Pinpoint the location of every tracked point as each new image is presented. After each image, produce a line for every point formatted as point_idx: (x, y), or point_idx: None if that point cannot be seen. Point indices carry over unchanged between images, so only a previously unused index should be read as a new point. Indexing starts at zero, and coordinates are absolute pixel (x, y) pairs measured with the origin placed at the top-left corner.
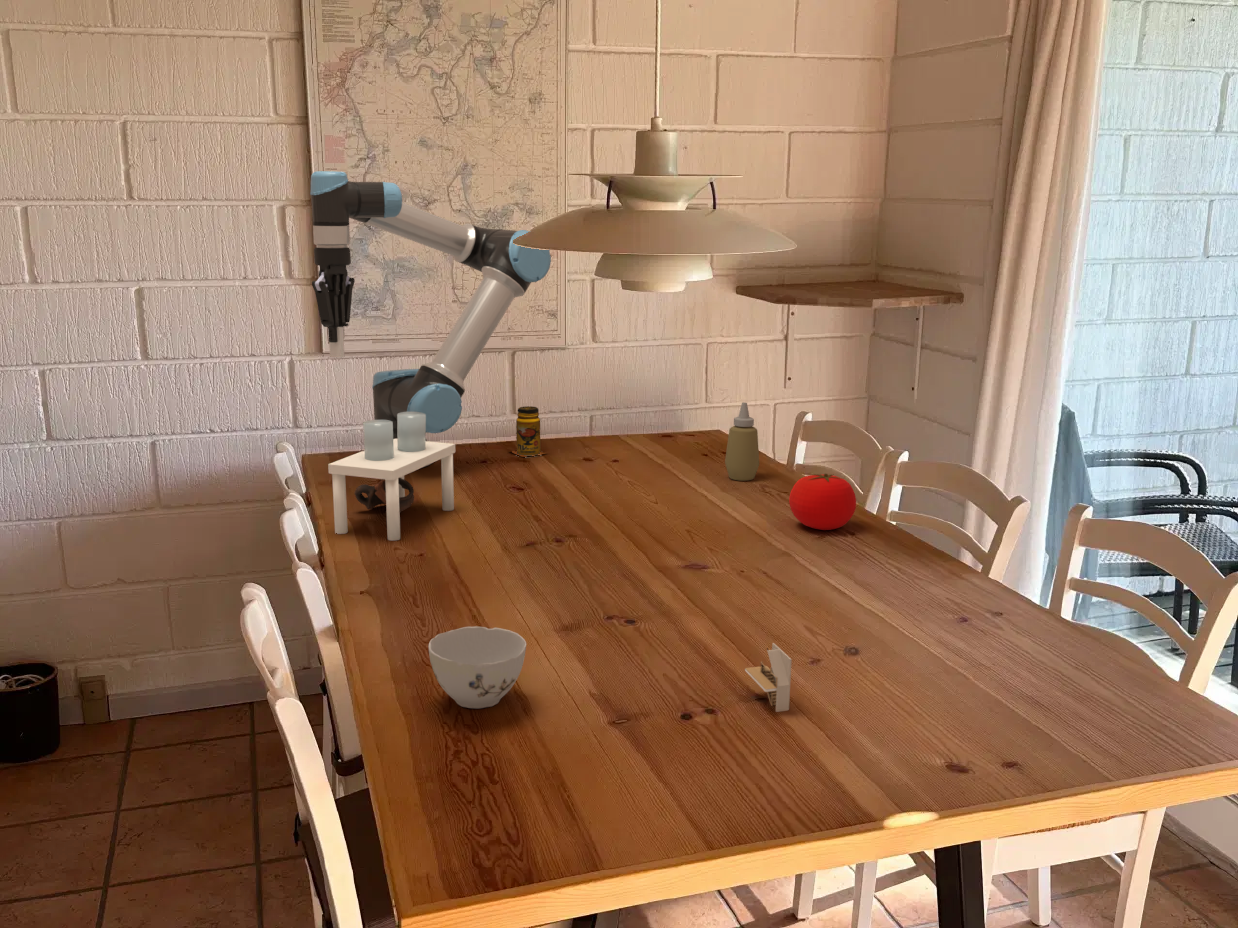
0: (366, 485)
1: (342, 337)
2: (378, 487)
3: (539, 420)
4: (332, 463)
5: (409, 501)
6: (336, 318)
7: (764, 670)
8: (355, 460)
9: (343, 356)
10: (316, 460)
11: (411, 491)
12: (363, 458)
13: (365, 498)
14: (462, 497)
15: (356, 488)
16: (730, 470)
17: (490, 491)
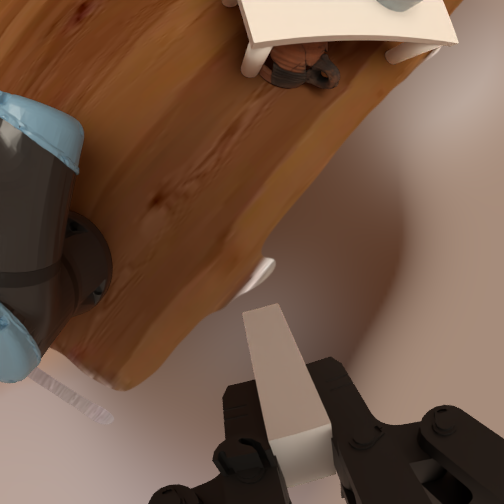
0: (330, 66)
1: (271, 378)
2: (325, 44)
3: None
4: (453, 39)
5: None
6: (392, 481)
7: None
8: (424, 16)
9: (252, 311)
10: (144, 370)
11: None
12: (409, 10)
13: (319, 77)
14: (162, 25)
15: (337, 81)
16: None
17: (112, 22)
